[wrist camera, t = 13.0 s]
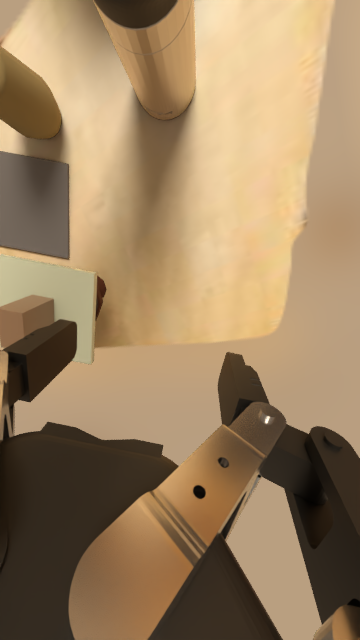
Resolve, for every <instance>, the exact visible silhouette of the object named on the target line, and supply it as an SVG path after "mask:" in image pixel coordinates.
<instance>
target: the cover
mask: <svg viewBox="0 0 360 640" xmlns="http://www.w3.org/2000/svg"><path fill="white" fill-rule="evenodd" d="M96 294H97V272H92V271H87V270H82V269H76V268H71V267H66V266H61V265H56V264H50V263H45V262H40V261H35V260H30V259H24V258H19V257H14V256H9V255H4V254H0V345H1V347H3V348H6V347H8V346H10V345H11V344H13V343H15V342H16V341H18V340H20V339H23V337H25V336H26V335H29V334H30V333H32V332H33V331H35V330H37V329H39V328H42V327H46V326H49V325H51V324H53V323H54V322H56V321H57V320H59V319H64V320H69V321H74V322H76V323H77V351H76V355H75V357H74V358H73V360H72V361H76V362H80V363H86V364H92V363H93V361H94V342H95V318H96Z"/></svg>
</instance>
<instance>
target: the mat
mask: <svg viewBox="0 0 360 640" xmlns="http://www.w3.org/2000/svg"><path fill="white" fill-rule="evenodd" d="M0 245H1V246H6V247H11V248H16V249H21V250H26V251H32V252H37V253H42V254H47V255H52V256H57V257H63V258H68V259H69V164H66V163H61V162H55V161H50V160H45V159H39V158H34V157H29V156H24V155H18V154H13V153H8V152H2V151H0Z"/></svg>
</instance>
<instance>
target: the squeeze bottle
mask: <svg viewBox="0 0 360 640" xmlns="http://www.w3.org/2000/svg"><path fill="white" fill-rule="evenodd" d="M0 119H1V120H2V121H4V122H5V123H7V124H8V125H9V126H11V127H12V128H13V129H15V130H16V131H18V132H19V133H21V134H22V135H24V136H26V137H28V138H35V139H49V138H51V137H54V136H55V135H56V134H57V133H58V132H59V129H60V126H61V113H60V110H59V108H58V105H57V103H56V101H55V99H54V96H53V94H52V92H51V90H50V88H49V87H48V85H47V84H46V83H45V81H44V80H43V79H42V77H40V76H39V75H38V74H36V73H35V72H34V71H32V70H31V69H30V68H29V67H27V66H26V65H25V64H23V63H22V62H21V61H19V60H18V59H17V58H16V57H14V56H13V55H12V54H10V53H9V52H8V51H6V50H5V49H4V48H2V47H1V46H0Z"/></svg>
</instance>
